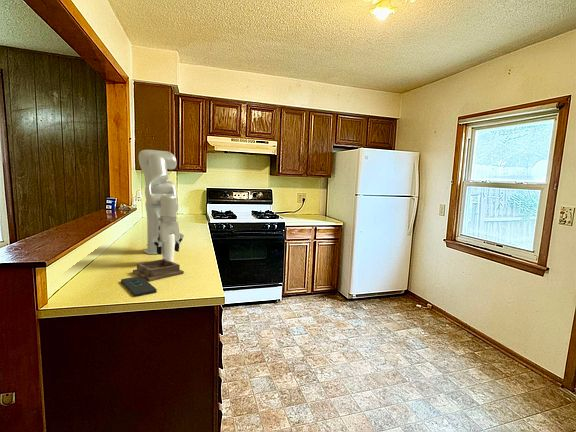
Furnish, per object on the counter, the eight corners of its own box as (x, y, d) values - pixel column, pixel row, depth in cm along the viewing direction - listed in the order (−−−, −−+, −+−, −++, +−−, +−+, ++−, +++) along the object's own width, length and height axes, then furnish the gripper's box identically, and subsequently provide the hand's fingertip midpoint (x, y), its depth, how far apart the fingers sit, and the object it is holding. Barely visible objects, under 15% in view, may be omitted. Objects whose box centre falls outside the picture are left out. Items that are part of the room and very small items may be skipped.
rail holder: (132, 272, 140) (132, 263, 139) (165, 266, 152) (165, 257, 152) (149, 281, 130) (149, 271, 129) (183, 273, 142) (183, 264, 141)
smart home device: (141, 275, 133) (157, 289, 118) (141, 279, 133) (157, 293, 119) (119, 279, 127) (134, 294, 113) (120, 283, 128) (134, 298, 113)
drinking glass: (170, 264, 154) (170, 235, 152) (158, 263, 156) (158, 234, 154) (177, 261, 161) (177, 233, 159) (166, 260, 162) (166, 232, 160)
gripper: (155, 221, 147) (155, 256, 149) (187, 219, 160) (187, 251, 162) (147, 219, 151) (148, 253, 153) (179, 217, 165) (179, 248, 167)
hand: (168, 252), depth 158 cm, fingers open, 9 cm apart
